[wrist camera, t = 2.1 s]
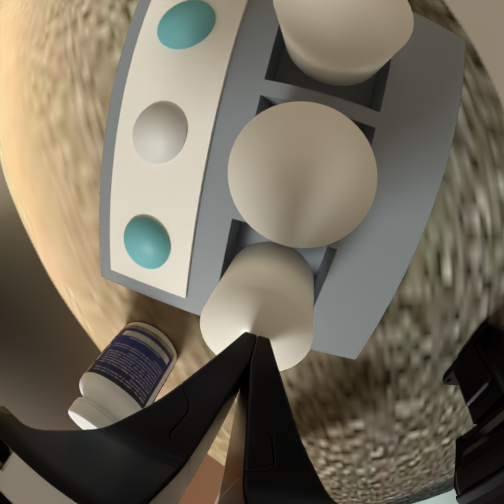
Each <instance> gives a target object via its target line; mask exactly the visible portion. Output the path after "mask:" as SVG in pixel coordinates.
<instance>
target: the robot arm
mask: <svg viewBox="0 0 504 504" xmlns="http://www.w3.org/2000/svg"><path fill="white" fill-rule="evenodd" d="M256 337H257V338H256ZM442 380H443V383H444V384H448V385H459V387H460V390H461V393H462V396H463V398H464V401H465V404H466V406H468V409H469V412H470V415H471V418H472V421H473V424H476V426H475V427H473V428H472V429H471V430H470V431H468V432H467V433H466V434H464V435H462V436H460V437H459V438H457V439H456V457H455V475H454V489H455V491H456V494H457V496H456V500H457V502H458V503H459V504H504V327H501V326H498V325H495V324H491V323H484V324H483V325H482V326H481V328H480V329H479V331H478V332H477V334H476V335H475V337H474V338H473V339H472V341H471V342H470V344H469V345H468V346H467V348H466V349H465V350H464V352H463V353H462V354H461V356H460V357H459V358H458V360H457V361H456V362H455V364H454V365H453V366H452V367H451V368H450V370H449V371H448V372H447V373H446V374H445V376H444V377H443V379H442ZM241 383H242V384H241ZM240 386H241V387H240ZM239 389H240V390H239ZM238 392H239V394H238ZM237 394H238V398H237V404H236V409H235V415H234V420H233V426H232V431H231V437H230V442H229V447H228V453H227V458H226V463H225V469H224V474H223V479H222V485H221V490H220V495H219V500H218V504H338V503H336V502H335V501H334V500H333V499H332V498H331V497H330V496H329V494H328V493H327V492H326V490H325V488H324V487H323V485H322V483H321V481H320V479H319V477H318V475H317V473H316V471H315V469H314V467H313V465H312V463H311V461H310V459H309V457H308V455H307V452H306V450H305V448H304V446H303V443H302V441H301V438H300V435H299V433H298V430H297V427H296V423H295V420H294V418H293V414H292V411H291V408H290V404H289V401H288V398H287V395H286V392H285V388H284V385H283V382H282V378H281V375H280V372H279V369H278V365H277V362H276V359H275V356H274V352H273V349H272V346H271V342H270V339H269V338H266V337H263V336H257V335H256V334H253V333H250V332H244V333H243V334H242V335H240V336H239V337H238V338H237V339H236V340H235V341H233V342H232V343H231V344H230V345H229V346H227V347H226V348H225V349H224V350H223V351H221V352H220V353H219V354H218V355H216V356H215V357H214V358H213V359H212V360H210V361H209V362H208V363H207V364H205V365H204V366H203V367H202V368H200V369H199V370H198V371H197V372H195V373H194V374H193V375H192V376H190V377H189V378H188V379H187V380H185V381H184V382H183V383H182V385H181V384H180V385H179V386H177V387H176V388H175V389H173V390H172V391H171V392H169V393H168V394H166V395H165V396H164V397H162V398H161V399H159V400H157V401H156V402H154V403H152V404H150V405H149V406H147V407H145V408H143V409H141V410H139V411H138V412H136V413H134V414H132V415H130V416H128V417H126V418H124V419H122V420H120V421H118V422H116V423H113V424H111V425H109V426H106V427H102V428H97V429H86V430H40V429H35V428H31V427H29V426H26V425H25V424H23V423H22V422H20V421H19V420H18V419H17V418H16V417H15V416H14V415H13V414H12V413H11V412H10V411H9V410H8V409H7V408H5V406H0V504H178V503H179V501H180V499H181V498H182V496H183V495H184V493H185V491H186V489H187V488H188V486H189V484H190V482H191V481H192V479H193V477H194V476H195V474H196V472H197V470H198V468H199V467H200V465H201V463H202V461H203V459H204V458H205V456H206V454H207V452H208V450H209V449H210V447H211V445H212V443H213V441H214V439H215V437H216V435H217V434H218V432H219V430H220V428H221V426H222V424H223V422H224V420H225V418H226V416H227V414H228V412H229V410H230V408H231V406H232V404H233V402H234V400H235V398H236V396H237Z"/></svg>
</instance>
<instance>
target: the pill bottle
mask: <svg viewBox="0 0 504 504" xmlns="http://www.w3.org/2000/svg"><path fill="white" fill-rule="evenodd" d="M176 360H177V355H176V351H175V349H174V347H173V345H172V343H171V342H170V340H169V339H168V338H167V337H166V336H165V335H164V334H163V333H162V332H161V331H159V330H158V329H156V328H155V327H153V326H151V325H148V324H145V323H141V322H132V323H129V324H128V325H126V326H125V327H124V328H123V329H122V330H121V331H120V332H119V333H118V335H117V336H116V337H115V338H114V339H113V340H112V342H111V343H110V344H109V345H108V346H107V347H106V348H105V349H104V350H103V352H102V353H101V354H100V355H99V356H98V358H97V359H96V360H95V361H94V363H93V364H92V365H91V366H90V367H89V369H88V370H87V371H86V372H85V374H84V375H83V376H82V378H81V379H80V384H79V385H80V391H81V393H82V395H83V397H82V398H80V397H79V398H77V400H75V401H74V403H73V404H72V406H71V407H70V409H69V410H68V413H69V415H70V417H71V418H72V419H73V420H74V422H75V423H76V424H77V425H79V426H80V427H81V428H82V429H83V430H86V429H97V428H102V427H106V426H109V425H111V424H113V423H116V422H118V421H120V420H122V419H124V418H126V417H128V416H130V415H132V414H134V413H136V412H138V411H139V410H141V409H143V408H145V407H147V406H149V405H150V404H152V403H153V402H154V401H155V399H156V397H157V395H158V394H159V392H160V390H161V388H162V387H163V385H164V383H165V382H166V380H167V378H168V376H169V375H170V373H171V371H172V370H173V368H174V366H175V364H176Z"/></svg>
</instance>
